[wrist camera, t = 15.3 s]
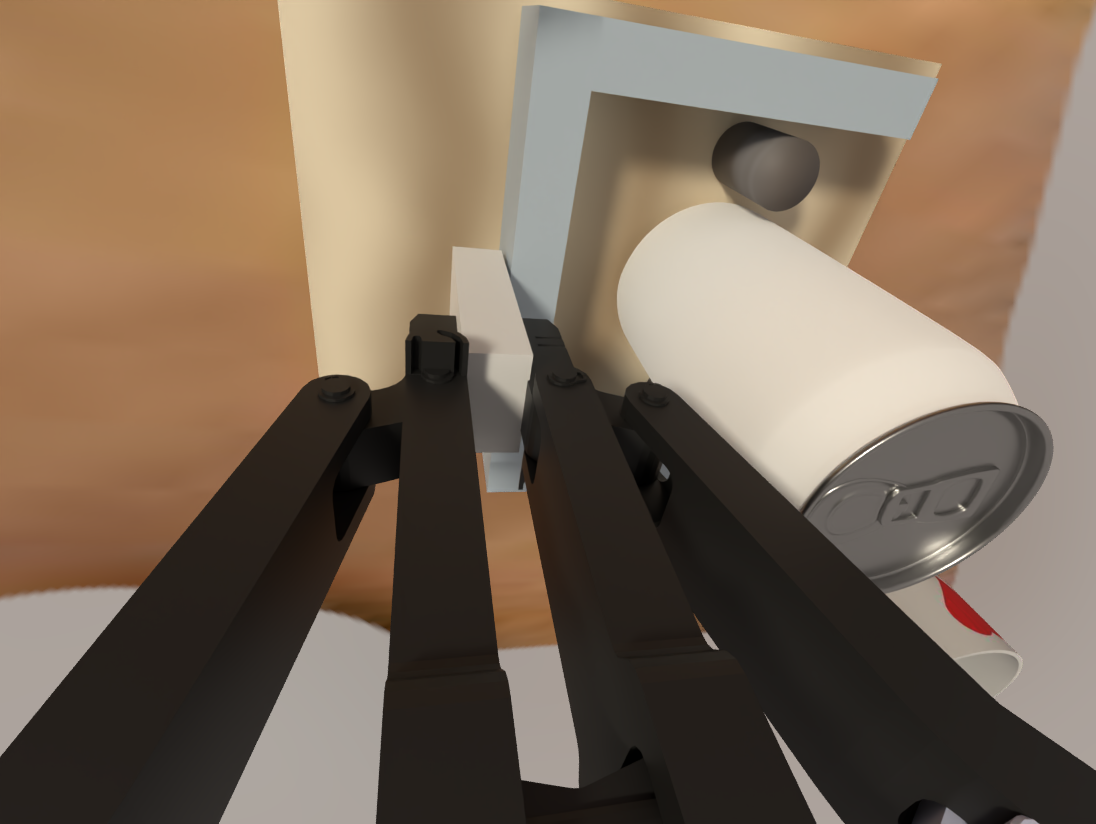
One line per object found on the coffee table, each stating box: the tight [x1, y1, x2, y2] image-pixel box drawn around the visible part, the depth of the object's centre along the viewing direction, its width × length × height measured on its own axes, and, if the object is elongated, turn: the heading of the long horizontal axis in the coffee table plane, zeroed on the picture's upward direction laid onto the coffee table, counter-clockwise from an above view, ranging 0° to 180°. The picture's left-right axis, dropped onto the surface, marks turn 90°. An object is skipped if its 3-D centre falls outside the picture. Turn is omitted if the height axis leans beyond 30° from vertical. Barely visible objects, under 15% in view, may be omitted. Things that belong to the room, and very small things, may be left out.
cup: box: [886, 575, 1023, 698], centre depth 31 cm, size 8×8×10 cm
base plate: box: [278, 0, 942, 397], centre depth 19 cm, size 20×16×4 cm
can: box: [617, 202, 1053, 594], centre depth 16 cm, size 6×6×12 cm
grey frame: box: [482, 5, 938, 492], centre depth 19 cm, size 11×15×3 cm
